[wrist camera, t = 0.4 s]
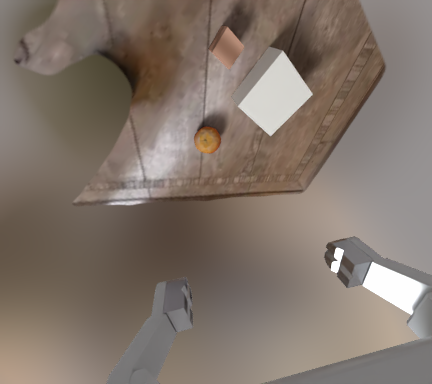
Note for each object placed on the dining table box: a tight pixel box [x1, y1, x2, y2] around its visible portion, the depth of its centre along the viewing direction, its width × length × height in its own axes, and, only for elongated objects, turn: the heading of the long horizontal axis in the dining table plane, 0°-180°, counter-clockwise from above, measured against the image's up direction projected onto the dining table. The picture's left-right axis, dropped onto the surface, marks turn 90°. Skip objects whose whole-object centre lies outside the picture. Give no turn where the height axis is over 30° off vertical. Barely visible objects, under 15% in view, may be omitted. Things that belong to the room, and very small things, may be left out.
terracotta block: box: [208, 26, 244, 69], centre depth 39 cm, size 5×5×6 cm
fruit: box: [194, 127, 221, 153], centre depth 54 cm, size 8×8×8 cm
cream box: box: [231, 47, 313, 136], centre depth 47 cm, size 14×14×8 cm
